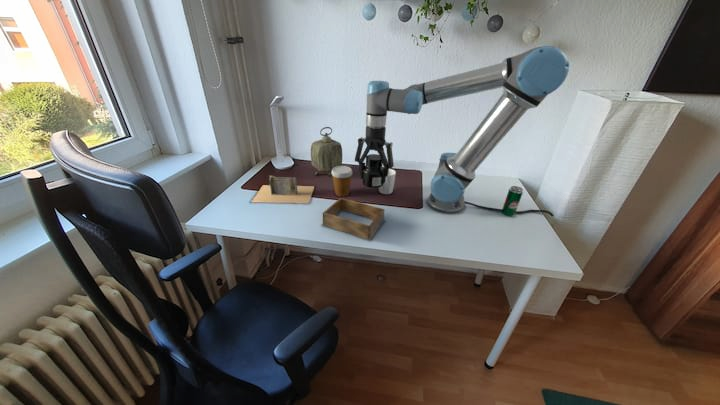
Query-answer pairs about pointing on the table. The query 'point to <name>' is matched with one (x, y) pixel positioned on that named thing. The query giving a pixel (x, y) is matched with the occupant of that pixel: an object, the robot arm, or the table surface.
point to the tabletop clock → (326, 153)
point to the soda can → (512, 200)
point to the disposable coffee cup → (341, 180)
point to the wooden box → (352, 226)
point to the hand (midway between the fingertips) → (372, 180)
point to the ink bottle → (373, 171)
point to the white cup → (388, 183)
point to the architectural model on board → (284, 191)
